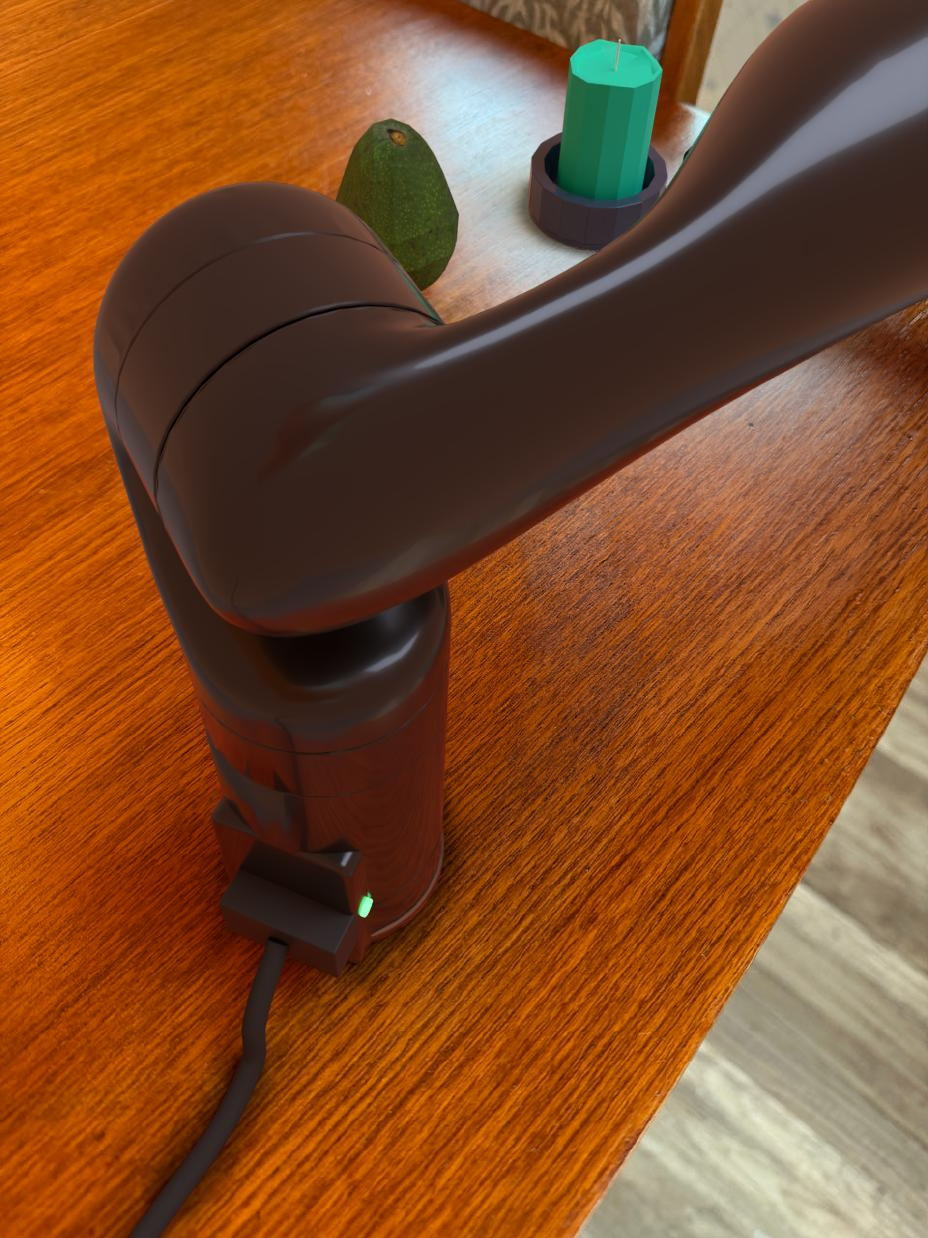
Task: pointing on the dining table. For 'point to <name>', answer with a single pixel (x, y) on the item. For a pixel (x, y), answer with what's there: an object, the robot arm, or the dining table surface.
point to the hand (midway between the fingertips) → (714, 130)
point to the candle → (608, 120)
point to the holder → (586, 202)
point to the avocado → (403, 198)
